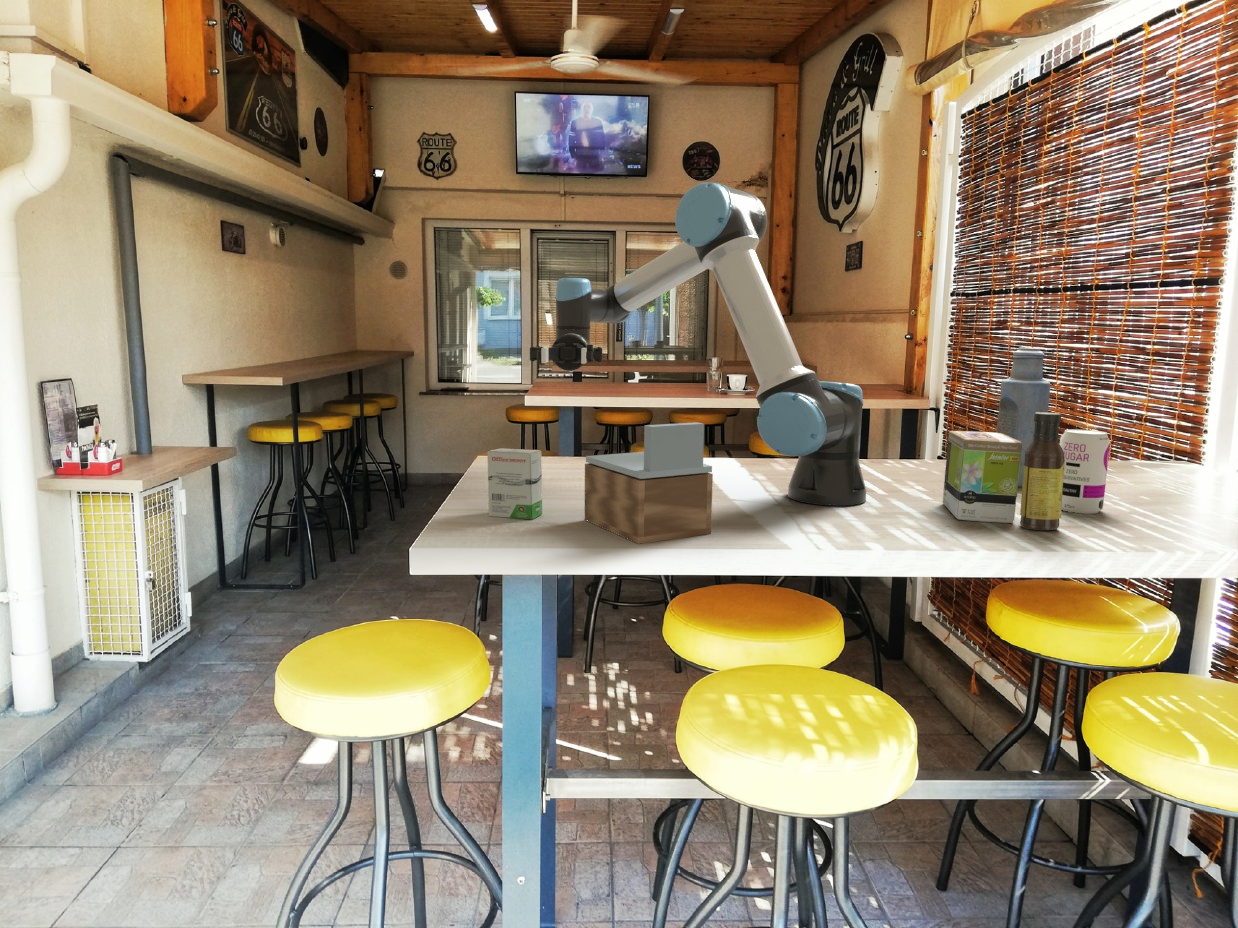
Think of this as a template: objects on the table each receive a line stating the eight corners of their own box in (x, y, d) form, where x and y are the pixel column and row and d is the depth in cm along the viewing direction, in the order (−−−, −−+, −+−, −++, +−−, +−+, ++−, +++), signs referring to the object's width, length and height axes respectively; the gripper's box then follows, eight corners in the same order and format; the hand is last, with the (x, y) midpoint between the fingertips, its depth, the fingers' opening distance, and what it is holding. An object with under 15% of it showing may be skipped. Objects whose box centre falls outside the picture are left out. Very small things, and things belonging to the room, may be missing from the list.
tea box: (1016, 524, 146) (1024, 441, 144) (955, 521, 148) (962, 438, 146) (995, 506, 161) (1002, 430, 158) (941, 503, 162) (946, 428, 160)
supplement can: (1099, 507, 160) (1108, 430, 158) (1104, 516, 153) (1113, 435, 150) (1052, 503, 164) (1060, 428, 161) (1054, 511, 156) (1062, 432, 154)
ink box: (543, 514, 149) (543, 449, 147) (531, 520, 144) (531, 453, 142) (499, 510, 152) (499, 446, 150) (487, 516, 147) (486, 450, 145)
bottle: (982, 480, 188) (993, 346, 183) (1019, 478, 191) (1032, 347, 186) (1011, 488, 179) (1024, 348, 174) (1050, 486, 181) (1064, 348, 177)
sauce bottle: (1067, 531, 141) (1079, 414, 138) (1035, 533, 140) (1047, 415, 136) (1040, 522, 147) (1051, 410, 144) (1010, 524, 146) (1020, 411, 143)
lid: (585, 461, 143) (586, 415, 142) (652, 456, 150) (653, 412, 149) (640, 478, 128) (641, 427, 127) (711, 472, 135) (713, 423, 133)
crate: (584, 520, 145) (584, 463, 143) (652, 512, 152) (653, 458, 150) (638, 543, 130) (639, 480, 128) (710, 533, 136) (712, 473, 135)
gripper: (616, 370, 175) (616, 377, 152) (524, 369, 175) (510, 376, 152) (617, 334, 173) (617, 335, 151) (523, 333, 173) (509, 334, 151)
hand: (563, 356), depth 151 cm, fingers open, 7 cm apart
